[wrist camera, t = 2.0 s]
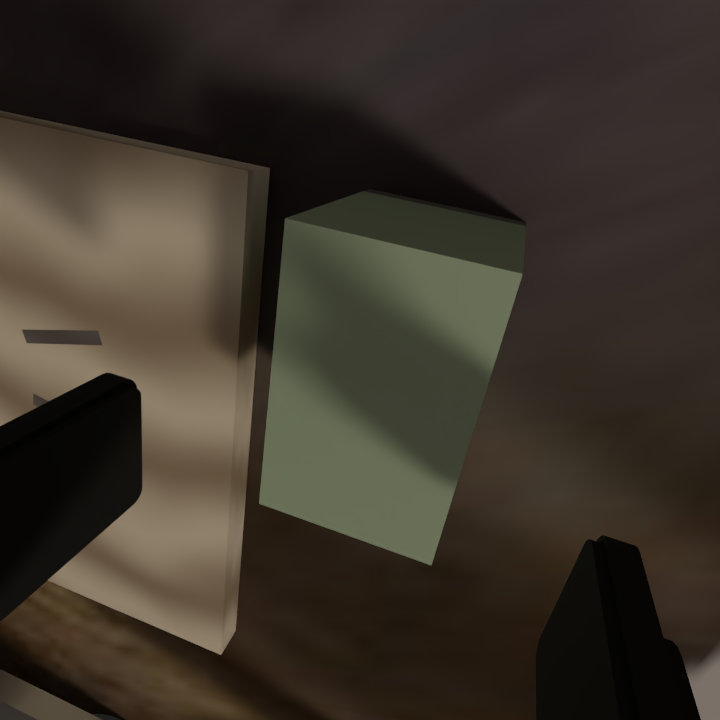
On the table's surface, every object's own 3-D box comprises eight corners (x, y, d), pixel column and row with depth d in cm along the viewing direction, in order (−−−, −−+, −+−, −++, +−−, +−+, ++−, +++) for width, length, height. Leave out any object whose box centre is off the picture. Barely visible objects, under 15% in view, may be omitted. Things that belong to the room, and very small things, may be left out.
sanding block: (370, 188, 16) (284, 218, 11) (526, 221, 15) (522, 274, 10) (336, 398, 20) (259, 503, 14) (461, 436, 19) (431, 565, 13)
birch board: (-77, 94, 20) (-120, 91, 19) (270, 167, 17) (247, 171, 16) (13, 537, 31) (-11, 555, 29) (235, 630, 28) (220, 655, 26)
